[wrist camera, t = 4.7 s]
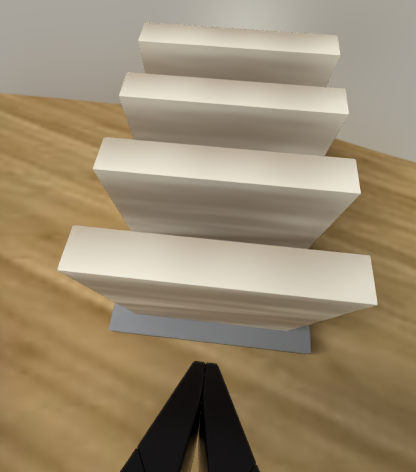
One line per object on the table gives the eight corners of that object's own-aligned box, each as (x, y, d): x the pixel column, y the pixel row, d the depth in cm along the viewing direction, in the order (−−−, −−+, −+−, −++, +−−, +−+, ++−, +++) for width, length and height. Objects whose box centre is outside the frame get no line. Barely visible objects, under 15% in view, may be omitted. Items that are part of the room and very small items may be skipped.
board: (305, 354, 18) (310, 353, 17) (113, 331, 18) (108, 330, 17) (298, 162, 24) (301, 154, 23) (157, 149, 25) (155, 141, 24)
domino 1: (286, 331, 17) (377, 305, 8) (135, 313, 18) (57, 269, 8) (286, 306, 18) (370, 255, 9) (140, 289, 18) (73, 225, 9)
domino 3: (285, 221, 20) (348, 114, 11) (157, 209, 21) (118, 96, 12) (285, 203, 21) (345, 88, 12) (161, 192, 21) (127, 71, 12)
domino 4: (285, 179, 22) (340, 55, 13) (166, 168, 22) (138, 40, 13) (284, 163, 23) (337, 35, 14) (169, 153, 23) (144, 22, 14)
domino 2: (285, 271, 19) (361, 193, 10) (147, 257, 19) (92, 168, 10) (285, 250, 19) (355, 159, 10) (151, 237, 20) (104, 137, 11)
